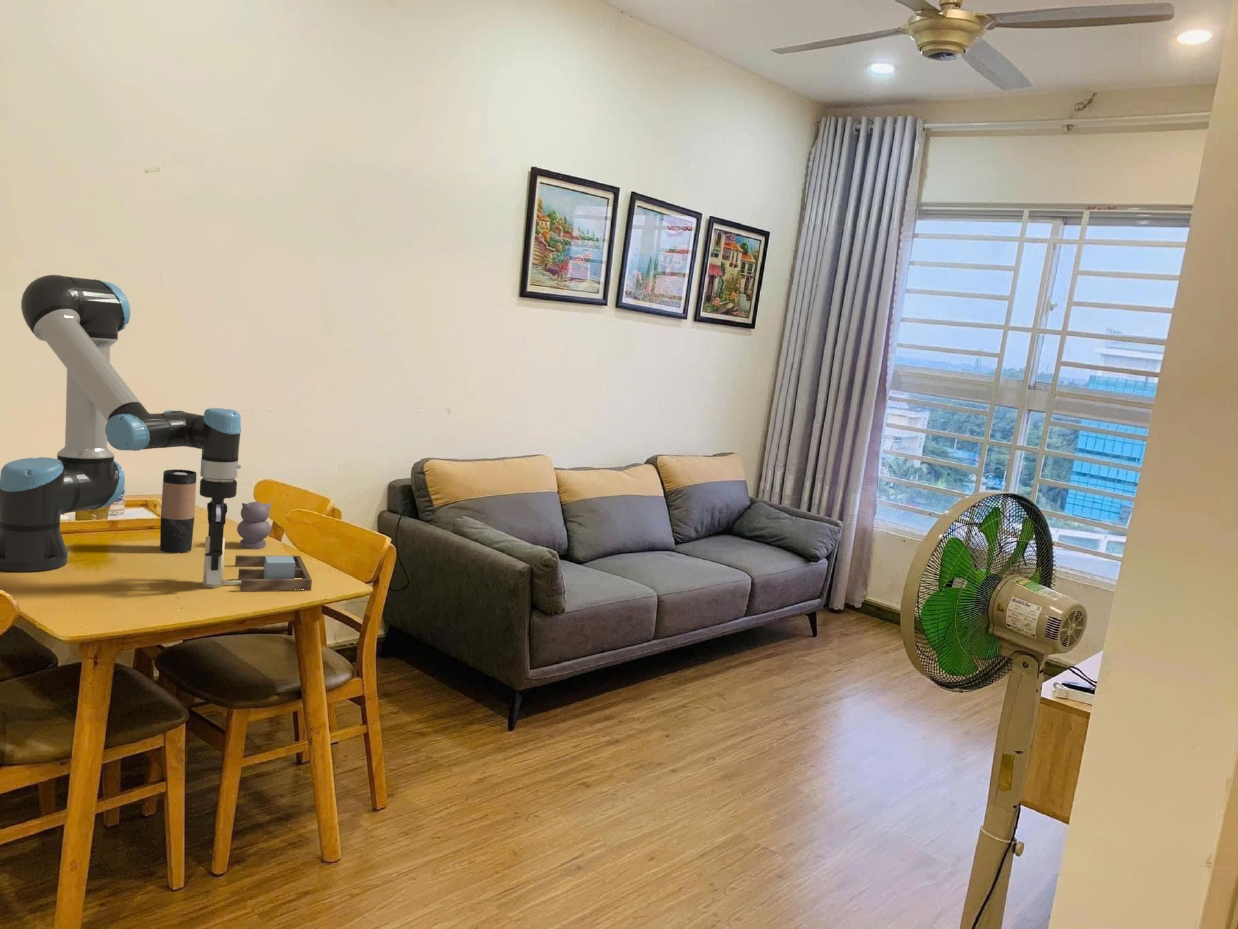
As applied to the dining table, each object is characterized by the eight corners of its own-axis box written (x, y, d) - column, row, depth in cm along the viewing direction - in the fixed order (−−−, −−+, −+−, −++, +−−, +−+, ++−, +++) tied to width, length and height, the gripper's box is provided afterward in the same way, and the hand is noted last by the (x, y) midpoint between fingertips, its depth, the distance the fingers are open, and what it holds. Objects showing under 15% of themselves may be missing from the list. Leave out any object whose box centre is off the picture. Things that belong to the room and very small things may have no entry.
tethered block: (203, 589, 202) (206, 540, 200) (202, 581, 207) (205, 534, 206) (293, 588, 210) (296, 541, 209) (290, 580, 215) (293, 535, 214)
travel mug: (198, 548, 234) (203, 472, 231) (181, 555, 226) (186, 476, 223) (170, 544, 234) (174, 468, 232) (152, 550, 227) (156, 471, 224)
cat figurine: (265, 542, 248) (268, 498, 247) (274, 549, 242) (277, 504, 241) (232, 543, 243) (235, 499, 241) (240, 550, 237) (243, 505, 235)
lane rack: (240, 591, 203) (241, 580, 203) (235, 565, 223) (235, 555, 222) (311, 590, 210) (311, 580, 210) (299, 565, 229) (300, 555, 229)
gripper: (239, 486, 196) (233, 591, 199) (234, 472, 211) (228, 570, 214) (201, 485, 193) (195, 591, 196) (199, 471, 208) (193, 570, 211)
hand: (212, 580), depth 205 cm, fingers closed on tethered block, 4 cm apart
